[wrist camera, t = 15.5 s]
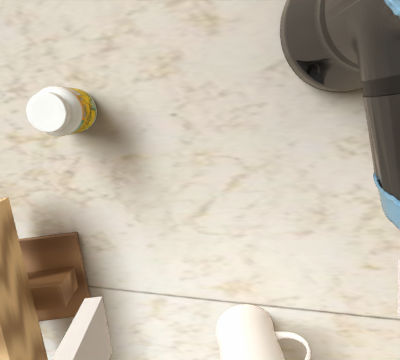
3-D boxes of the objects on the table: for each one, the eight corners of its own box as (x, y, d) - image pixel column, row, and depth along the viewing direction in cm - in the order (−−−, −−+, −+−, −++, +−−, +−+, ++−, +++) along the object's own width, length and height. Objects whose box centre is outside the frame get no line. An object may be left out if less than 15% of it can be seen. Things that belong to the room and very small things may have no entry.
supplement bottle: (63, 81, 43) (28, 75, 34) (104, 99, 44) (80, 97, 35) (49, 122, 44) (12, 126, 35) (89, 138, 45) (63, 147, 36)
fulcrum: (-25, 244, 47) (-56, 264, 42) (77, 232, 47) (61, 249, 42) (-4, 322, 50) (-30, 351, 44) (93, 310, 50) (80, 337, 44)
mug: (290, 293, 50) (320, 350, 39) (298, 344, 52) (330, 413, 40) (210, 310, 51) (217, 371, 39) (221, 359, 52) (231, 433, 41)
